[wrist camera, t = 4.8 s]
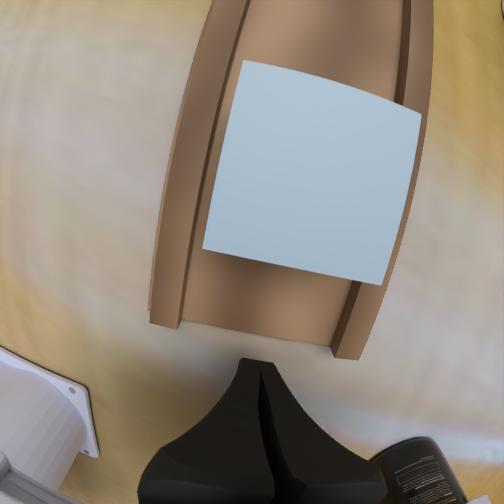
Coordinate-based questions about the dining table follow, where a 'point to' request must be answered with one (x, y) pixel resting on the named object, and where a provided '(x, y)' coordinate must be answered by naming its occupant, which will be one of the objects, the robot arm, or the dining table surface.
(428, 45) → the guide channel
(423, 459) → the supplement bottle
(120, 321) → the dining table surface
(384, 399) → the dining table surface
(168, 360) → the dining table surface
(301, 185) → the plate
